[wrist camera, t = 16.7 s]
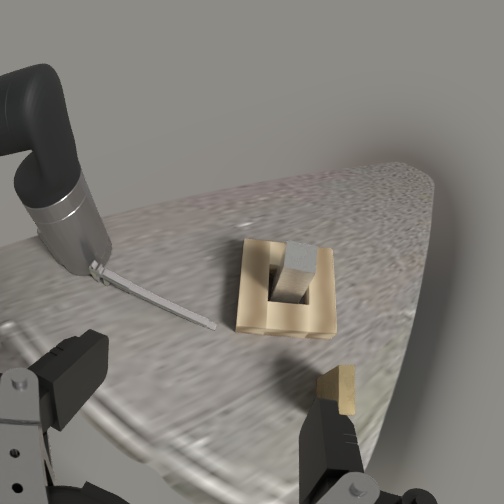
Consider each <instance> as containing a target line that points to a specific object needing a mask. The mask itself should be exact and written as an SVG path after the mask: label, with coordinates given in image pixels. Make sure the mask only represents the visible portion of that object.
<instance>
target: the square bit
mask: <svg viewBox="0 0 504 504" xmlns="http://www.w3.org/2000/svg"><path fill="white" fill-rule="evenodd" d="M317 248H318V246H315V245H310V244H305V243H300V242H295V241H290V240H287V242H286V245H285V248H284V251H283V253H282V256H281V259H280V262H279V265H278V268H277V271H276V274H275V276H274V279H273V286H272V292H271V299H270V302H280V303H291V304H298V303H299V301H300V300H301V298H302V296H303V295H304V293H305V291H306V289H307V288H308V286H309V284H310V283H311V281H312V279H313V277H314V276H315V274H316V263H317Z"/></svg>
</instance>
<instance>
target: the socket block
mask: <svg viewBox="0 0 504 504" xmlns="http://www.w3.org/2000/svg"><path fill="white" fill-rule="evenodd" d="M285 245H286V243H279V242H270V241H262V240H253V239H245V240H244V246H243V255H242V266H241V276H240V287H239V297H238V308H237V319H236V329H235V332H238V333H249V334H259V335H271V336H283V337H297V338H313V339H331V338H332V337H333V336H334V335H336V334H337V323H336V299H335V280H334V264H333V250H332V249H330V248H321V247H318V248H317V263H316V274H315V276H314V277H313V279H312V281H311V283H310V284H309V286H308V288H307V289H306V291H305V293H304V305H303V304H291V303H280V302H270V301H268V285H269V274H276V271H277V268H278V265H279V262H280V259H281V256H282V253H283V251H284V248H285Z"/></svg>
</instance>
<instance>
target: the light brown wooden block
mask: <svg viewBox="0 0 504 504" xmlns="http://www.w3.org/2000/svg"><path fill="white" fill-rule="evenodd" d="M317 397H320V398H326V399H331V400H336V401H337V403H338V408H339V413H340V414H342V415H347V416H350V415H355V365H338V366H337V367H335V368H333V369H332V370H330V371H328V372H327V373H325V374H324V375H322V376H320V377H318V378H317Z"/></svg>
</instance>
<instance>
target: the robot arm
mask: <svg viewBox="0 0 504 504" xmlns="http://www.w3.org/2000/svg"><path fill="white" fill-rule="evenodd" d="M26 150H32V151H33V152H32V153H30V154H29V155H28V156H27V157H26V158H25V159H24V160H23V161H22V163H21V164H20V166H19V167H18V169H17V171H16V174H15V177H14V187H15V191H16V193H17V195H18V196H19V198H20V200H21V201H22V203H23V205H24V206H25V208H26V210H27V211H28V213H29V214H30V216H31V217H32V219H33V221H34V222H35V224H36V225H37V227H38V229H37V233H38V235H39V236H40V238H41V239H42V240H43V242H44V243H45V245H46V246H47V248H48V249H49V250H50V252H51V253H52V255H53V256H54V257H55V259H56V260H57V261H58V263H59V264H61V265H64V266H65V267H66V269H67V270H68V271H69V272H71V273H72V274H74V275H78V276H87V275H90V274H91V273H90V270H89V266H90V265H91V263H92V262H94V260H95V261H96V262H97V263H98V265H100V264H102V267H103V266H104V265H105V264H106V262H107V261H108V259H109V257H110V255H111V250H112V244H111V241H110V238H109V236H108V234H107V231H106V229H105V227H104V224H103V222H102V219H101V217H100V215H99V212H98V210H97V208H96V205H95V203H94V200H93V198H92V195H91V193H90V190H89V188H88V185H87V182H86V180H85V177H84V175H83V172H82V169H81V166H80V164H79V161H78V157H77V151H76V145H75V140H74V136H73V132H72V129H71V125H70V121H69V117H68V113H67V108H66V103H65V98H64V94H63V89H62V85H61V82H60V79H59V77H58V75H57V73H56V71H55V70H54V69H53V68H52V67H51V66H50V65H48V64H38V65H33V66H30V67H26V68H23V69H20V70H17V71H13V72H10V73H7V74H5V75H2V76H0V156H4V155H9V154H13V153H17V152H22V151H26ZM108 347H109V339H108V336H106V335H103V334H101V333H99V332H96V331H94V330H91V329H89V330H88V331H86V332H85V333H84V334H83V335H81V336H80V337H76V336H74V337H71V338H68V339H65V340H63V341H62V342H60V343H59V344H58V345H57V346H56V347H54V348H53V349H51V350H50V352H48V353H46V354H45V355H44V356H43V357H41V358H40V359H39V360H38V361H36V362H35V363H34V364H33V365H31V366H30V367H29V368H28V369H25V368H12V369H9V370H7V371H5V372H4V373H3V374H2V373H0V504H129V503H128V502H127V501H125V500H124V499H122V498H120V497H119V496H117V495H115V494H113V493H110V492H108V491H106V490H104V489H102V488H99V487H97V486H95V485H93V484H91V483H89V482H87V481H86V483H85V484H84V486H83V488H78V487H72V486H57V483H56V479H55V475H54V471H53V464H52V458H51V450H50V443H49V435H48V428H49V427H50V426H51V427H53V428H55V429H56V430H58V431H62V429H63V428H64V427H65V426H66V424H68V422H69V421H70V420H71V419H72V418H73V416H74V415H75V414H76V413H77V412H78V411H79V409H80V408H81V407H82V406H83V405H84V403H85V402H86V401H87V400H88V399H89V398H90V396H91V395H92V394H93V393H94V392H95V391H96V390H97V388H98V387H99V386H100V385H101V384H102V382H103V381H104V379H105V377H106V374H107V370H108ZM357 443H358V442H357V437H356V433H355V428H354V425H353V423H352V422H351V421H350V419H349V418H348V416H347V415H342V414H340V413H339V408H338V403H337V401H336V400H331V399H326V398H320V397H317V398H316V399H315V400H314V402H313V404H312V406H311V409H310V411H309V413H308V415H307V417H306V419H305V421H304V423H303V425H302V428H301V431H300V435H299V504H437V501H436V499H435V498H434V496H433V495H432V494H430V493H429V492H428V491H425V490H423V489H417V488H415V489H410V490H408V491H407V492H405V493H404V495H403V496H402V497H401V496H398V495H394V494H390V493H387V492H383V491H380V489H379V486H378V484H377V482H376V481H375V480H374V479H373V478H371V477H370V476H368V475H366V474H364V469H363V465H362V460H361V455H360V451H359V446H358V445H357Z"/></svg>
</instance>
